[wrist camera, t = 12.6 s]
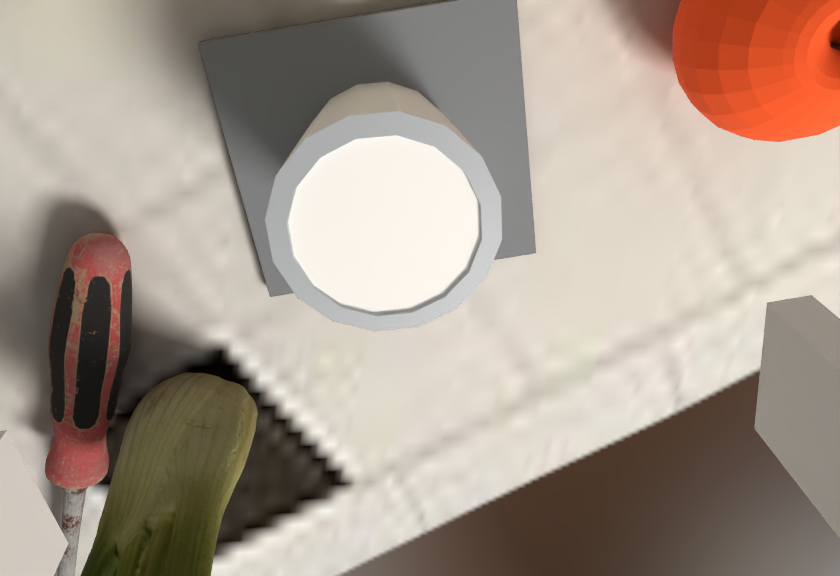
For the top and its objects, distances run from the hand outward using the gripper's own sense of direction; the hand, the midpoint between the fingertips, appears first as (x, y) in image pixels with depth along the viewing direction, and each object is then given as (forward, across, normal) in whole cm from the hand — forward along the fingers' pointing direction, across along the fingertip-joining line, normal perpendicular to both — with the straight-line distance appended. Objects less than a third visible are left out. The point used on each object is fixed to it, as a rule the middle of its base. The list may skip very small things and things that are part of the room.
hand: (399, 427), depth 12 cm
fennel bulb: (+17, -10, -10) cm, 22 cm away
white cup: (+16, 0, 0) cm, 16 cm away
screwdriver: (+17, -16, -12) cm, 26 cm away
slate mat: (+16, 0, 0) cm, 16 cm away
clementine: (+17, +14, +3) cm, 22 cm away
